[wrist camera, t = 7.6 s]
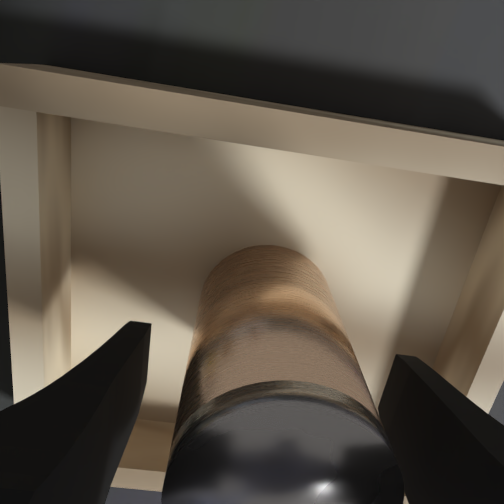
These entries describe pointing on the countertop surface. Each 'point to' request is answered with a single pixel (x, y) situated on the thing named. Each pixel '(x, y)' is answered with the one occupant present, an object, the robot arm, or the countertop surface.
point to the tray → (237, 231)
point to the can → (275, 395)
